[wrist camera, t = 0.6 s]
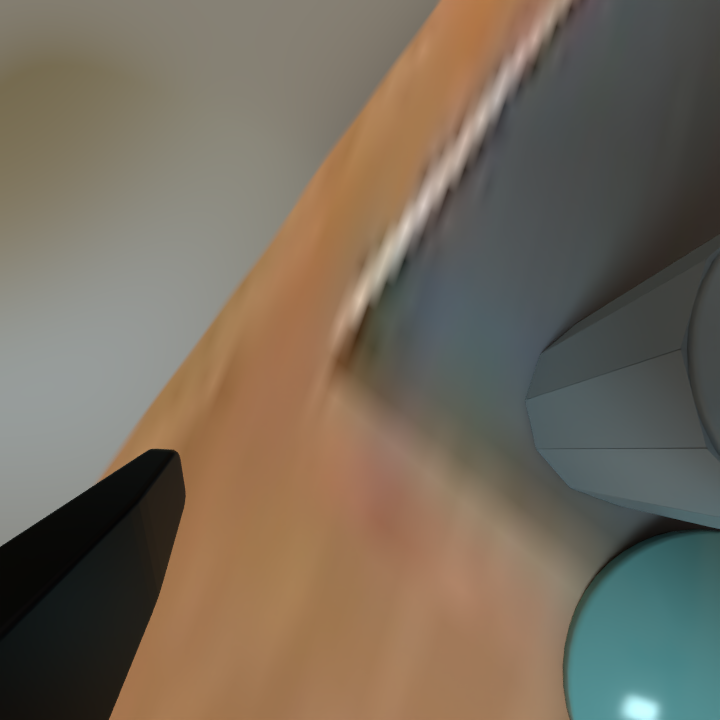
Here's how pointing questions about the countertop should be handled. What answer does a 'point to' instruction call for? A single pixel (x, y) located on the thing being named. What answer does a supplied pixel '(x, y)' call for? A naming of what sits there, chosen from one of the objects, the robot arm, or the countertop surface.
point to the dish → (649, 634)
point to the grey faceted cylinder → (640, 395)
